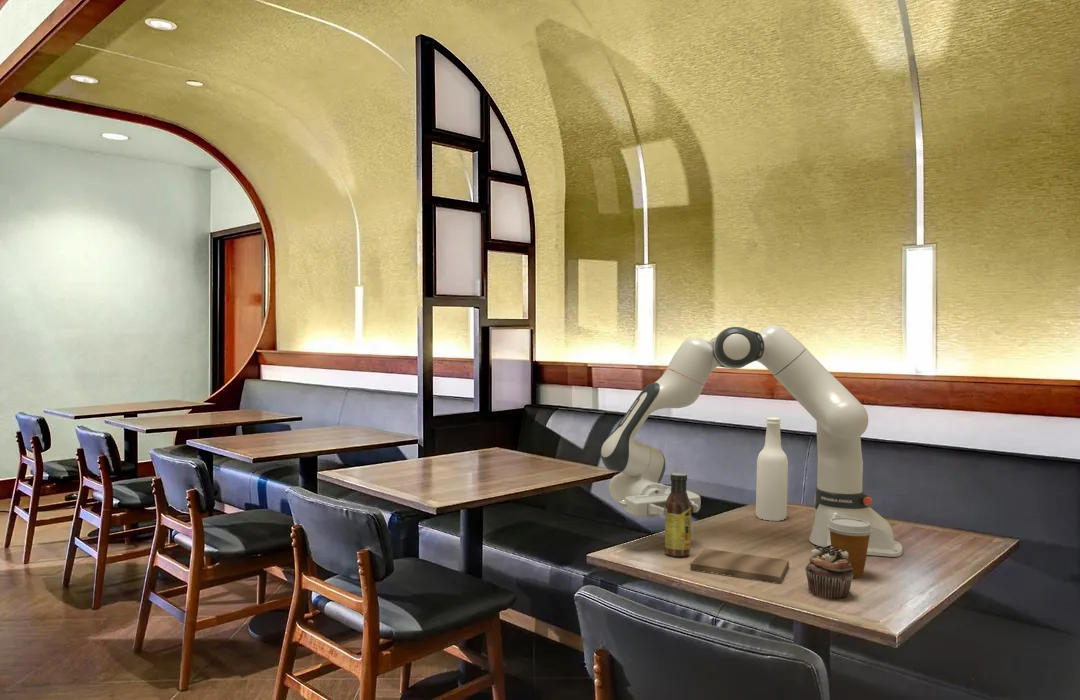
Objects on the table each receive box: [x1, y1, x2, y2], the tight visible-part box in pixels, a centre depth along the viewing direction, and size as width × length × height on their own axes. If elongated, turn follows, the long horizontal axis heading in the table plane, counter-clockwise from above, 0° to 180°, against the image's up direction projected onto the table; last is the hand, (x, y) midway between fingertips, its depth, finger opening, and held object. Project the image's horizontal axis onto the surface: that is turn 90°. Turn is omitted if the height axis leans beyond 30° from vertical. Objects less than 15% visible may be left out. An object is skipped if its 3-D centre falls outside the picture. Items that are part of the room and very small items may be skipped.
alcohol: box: [755, 416, 789, 522], centre depth 226 cm, size 9×9×30 cm
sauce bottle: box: [664, 472, 692, 558], centre depth 188 cm, size 6×6×20 cm
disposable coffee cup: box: [828, 517, 872, 579], centre depth 175 cm, size 10×10×12 cm
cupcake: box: [804, 545, 854, 600], centre depth 162 cm, size 10×10×10 cm
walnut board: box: [689, 548, 790, 584], centre depth 177 cm, size 20×14×2 cm
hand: (680, 510), depth 187 cm, fingers open, 8 cm apart
